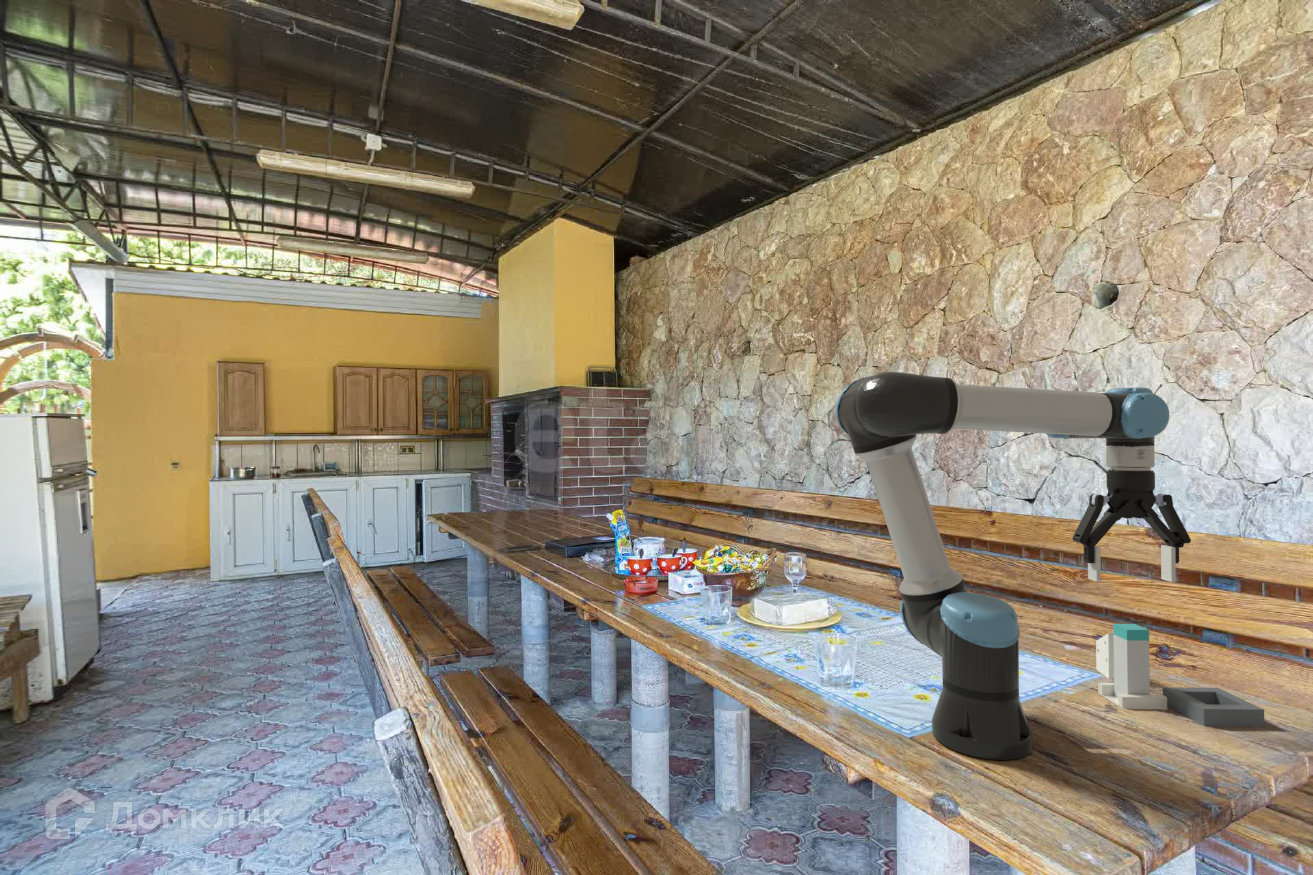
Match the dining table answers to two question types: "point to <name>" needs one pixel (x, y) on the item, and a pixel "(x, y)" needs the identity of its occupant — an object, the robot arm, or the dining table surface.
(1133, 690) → the plug
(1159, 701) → the white low u-shaped block
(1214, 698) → the block
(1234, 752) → the dining table surface
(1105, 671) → the white l-shaped bracket
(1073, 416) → the robot arm
